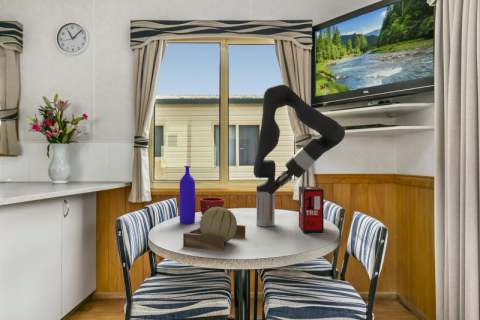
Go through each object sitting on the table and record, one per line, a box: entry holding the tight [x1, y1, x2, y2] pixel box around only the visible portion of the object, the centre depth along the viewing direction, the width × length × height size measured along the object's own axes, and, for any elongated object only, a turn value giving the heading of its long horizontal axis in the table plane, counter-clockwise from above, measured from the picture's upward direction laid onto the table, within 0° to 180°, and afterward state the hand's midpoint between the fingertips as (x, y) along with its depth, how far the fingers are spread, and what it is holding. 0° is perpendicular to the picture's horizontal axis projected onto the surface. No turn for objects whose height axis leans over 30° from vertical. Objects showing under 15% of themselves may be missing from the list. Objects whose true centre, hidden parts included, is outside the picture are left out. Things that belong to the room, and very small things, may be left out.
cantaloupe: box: [199, 204, 238, 244], centre depth 132 cm, size 15×15×15 cm
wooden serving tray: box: [182, 224, 246, 252], centre depth 135 cm, size 23×17×5 cm
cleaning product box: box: [298, 186, 325, 235], centre depth 158 cm, size 16×9×20 cm, turn 178°
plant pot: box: [199, 197, 225, 219], centre depth 182 cm, size 13×13×12 cm
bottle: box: [178, 165, 196, 225], centre depth 175 cm, size 8×8×30 cm
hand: (269, 193), depth 131 cm, fingers closed
